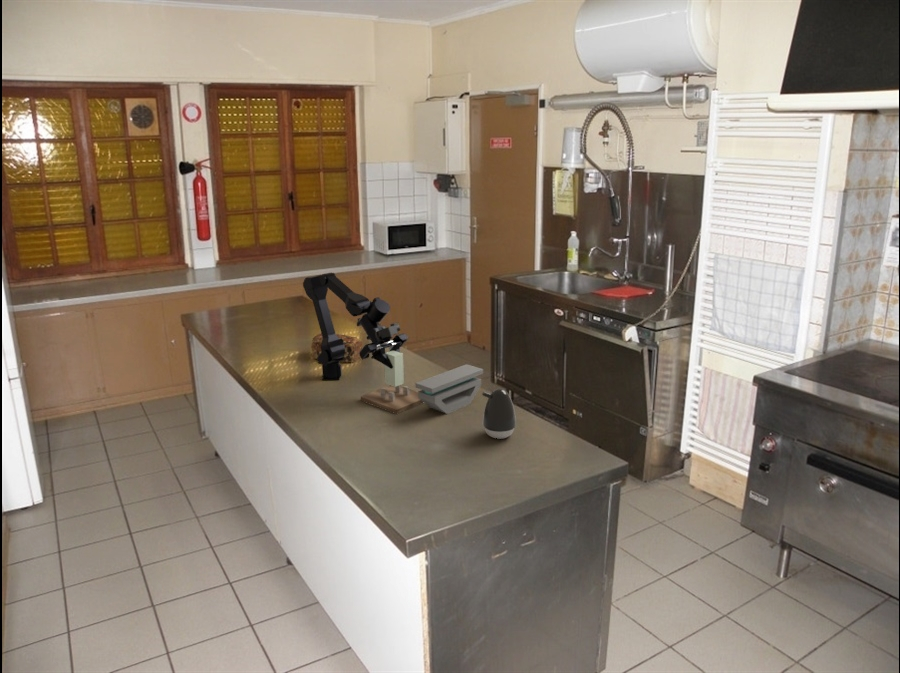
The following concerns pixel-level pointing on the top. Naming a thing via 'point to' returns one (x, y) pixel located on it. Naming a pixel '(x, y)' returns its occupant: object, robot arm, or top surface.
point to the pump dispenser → (499, 414)
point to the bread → (350, 343)
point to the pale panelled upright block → (394, 369)
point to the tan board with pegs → (393, 398)
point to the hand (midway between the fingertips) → (396, 366)
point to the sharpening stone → (450, 388)
